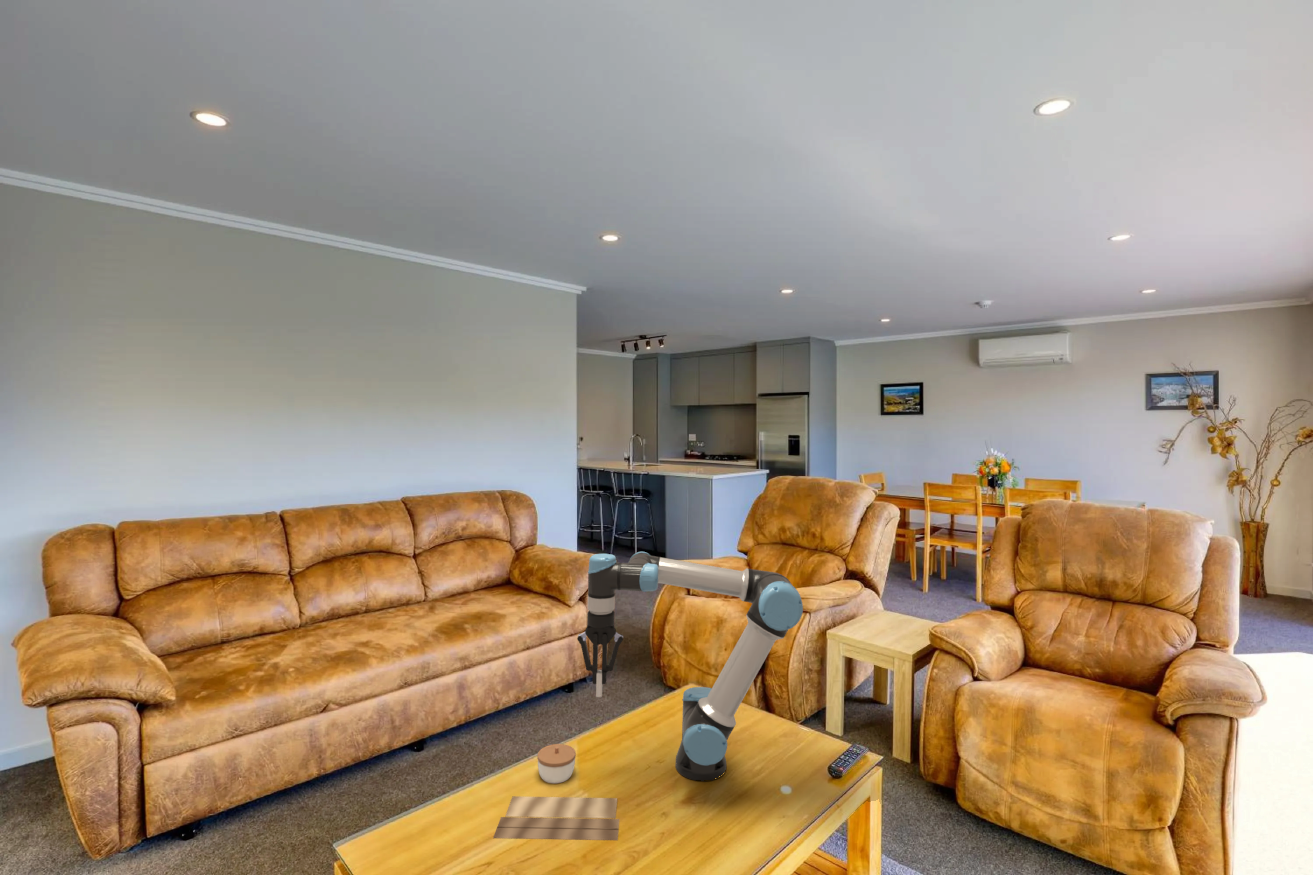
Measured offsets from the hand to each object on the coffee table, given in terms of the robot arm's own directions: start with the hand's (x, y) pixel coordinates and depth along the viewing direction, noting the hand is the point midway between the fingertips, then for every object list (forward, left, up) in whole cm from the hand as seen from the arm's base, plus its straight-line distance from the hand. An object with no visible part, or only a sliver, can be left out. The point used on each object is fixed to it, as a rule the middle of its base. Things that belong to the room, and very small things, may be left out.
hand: (599, 694), depth 170 cm
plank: (+8, +11, -26) cm, 30 cm away
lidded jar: (+12, -4, -27) cm, 30 cm away
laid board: (+8, +19, -26) cm, 34 cm away
